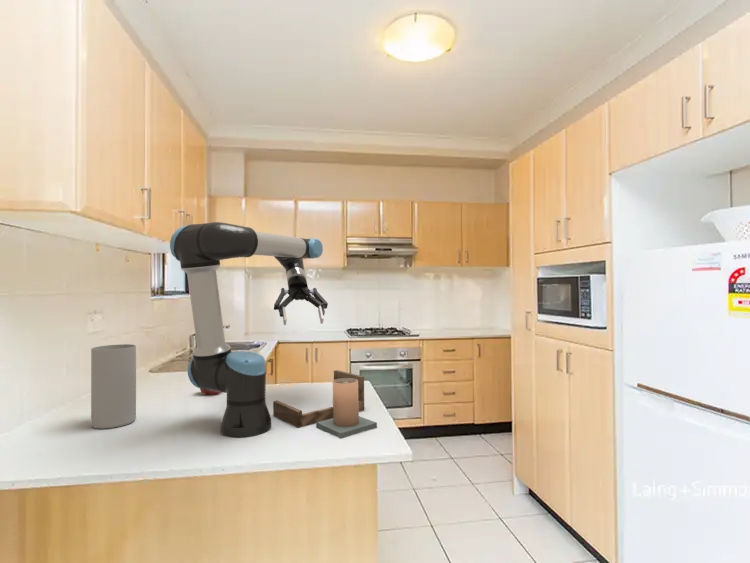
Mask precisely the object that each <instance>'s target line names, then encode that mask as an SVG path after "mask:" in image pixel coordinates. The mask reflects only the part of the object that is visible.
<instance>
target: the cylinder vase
mask: <svg viewBox="0 0 750 563" xmlns="http://www.w3.org/2000/svg"><path fill="white" fill-rule="evenodd" d="M90 351H91V352H90V353H91V354H90V359H91V360H90V361H91V362H90V367H91V368H90V372H91V373H90V377H91V378H90V386H91V387H90V426H91V427H92V428H94V429H98V428H99V429H101V430H102V429H103V430H107V428H108V429H113V428H114V429H115V427H116V428H119V427H124V426H127V425H130V424H132V423H134V422H135V421H136V419H137V344H131V343H130V344H129V343H128V344H127V343H126V344H125V343H124V344H123V343H122V344H109V345H98V346H95V347H91V348H90ZM129 423H130V424H129ZM105 428H106V429H105ZM99 429H98V430H99Z"/></svg>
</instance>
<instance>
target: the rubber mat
mask: <svg viewBox="0 0 750 563" xmlns="http://www.w3.org/2000/svg"><path fill="white" fill-rule="evenodd" d="M315 428H317V429H319V430H321V431H323V432H326V433H328V434H330V435H333V436H335V437H337V438H339V439H343V438H347V437H350V436H354V435H356V434H360V433H363V431H364V432H366V431H370V430H373V429H376V428H378V422H376V421H373V420H370V419H367V418H365V417H363V416H360V415H359V423H358V424H356V425H354V426H348V427H341V426H336V425H334V424H333V418H332V419H328V420H324V421H320V422H316V423H315ZM353 434H354V435H353Z"/></svg>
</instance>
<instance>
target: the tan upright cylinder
mask: <svg viewBox="0 0 750 563" xmlns="http://www.w3.org/2000/svg"><path fill="white" fill-rule="evenodd" d="M332 407H333V424H334V425H336V426H341V427H348V426H354V425H356V424H358V423H359V416H360V414H359V413H360V412H359V404H358V380H357V379H353V378H341V379H336V380H334V379H333V380H332Z"/></svg>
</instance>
